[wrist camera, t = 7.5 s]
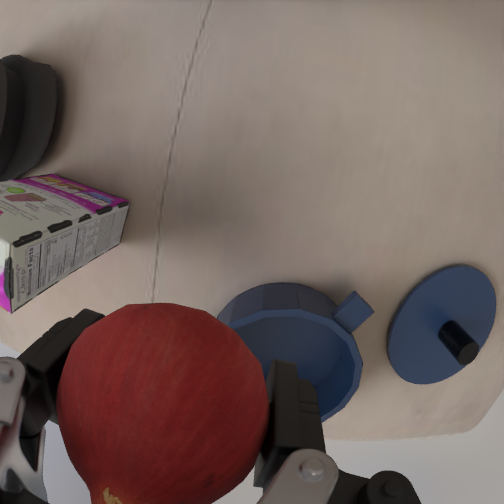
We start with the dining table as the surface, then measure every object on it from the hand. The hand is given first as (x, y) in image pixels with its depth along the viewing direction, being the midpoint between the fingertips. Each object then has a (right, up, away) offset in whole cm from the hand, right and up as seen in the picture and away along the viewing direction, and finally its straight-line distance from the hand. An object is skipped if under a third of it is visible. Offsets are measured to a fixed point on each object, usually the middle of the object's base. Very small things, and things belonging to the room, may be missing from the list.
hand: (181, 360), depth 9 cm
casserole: (-30, +20, +17) cm, 40 cm away
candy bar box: (-15, +8, +19) cm, 26 cm away
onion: (0, 0, +2) cm, 2 cm away
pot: (+5, -6, +21) cm, 23 cm away
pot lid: (+24, -5, +19) cm, 31 cm away
